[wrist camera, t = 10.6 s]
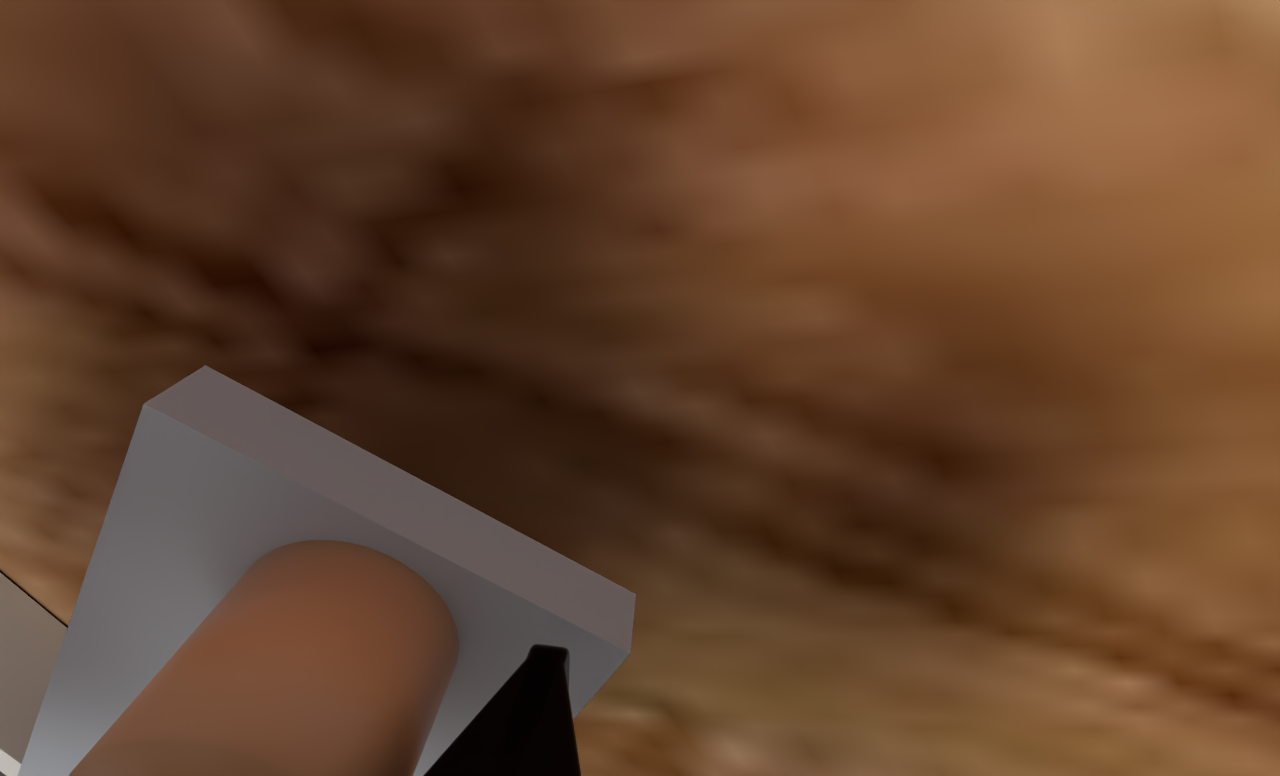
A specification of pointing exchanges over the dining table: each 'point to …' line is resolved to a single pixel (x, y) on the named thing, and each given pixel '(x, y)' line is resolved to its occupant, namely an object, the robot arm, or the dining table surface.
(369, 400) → the dining table surface
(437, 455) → the dining table surface
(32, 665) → the white tray with rod
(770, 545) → the dining table surface
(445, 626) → the cover
